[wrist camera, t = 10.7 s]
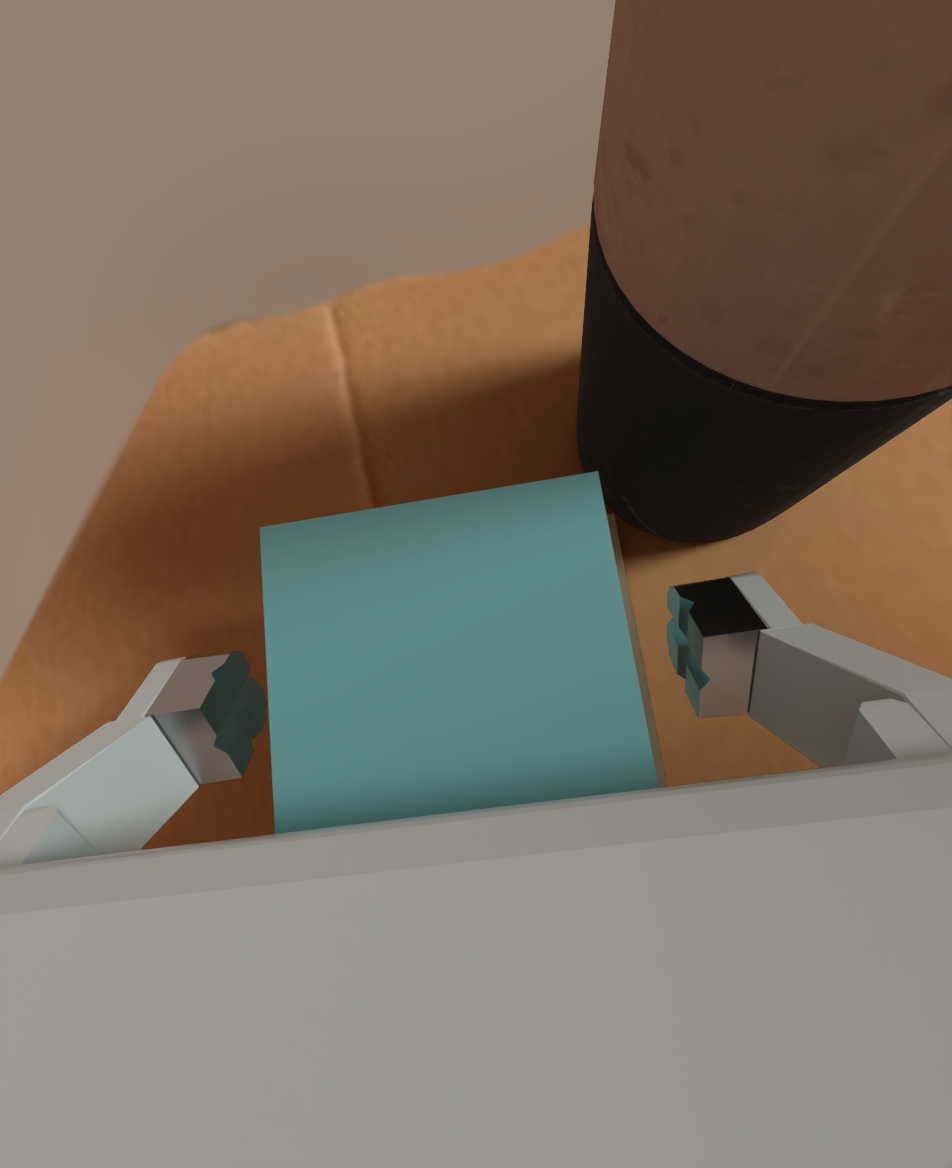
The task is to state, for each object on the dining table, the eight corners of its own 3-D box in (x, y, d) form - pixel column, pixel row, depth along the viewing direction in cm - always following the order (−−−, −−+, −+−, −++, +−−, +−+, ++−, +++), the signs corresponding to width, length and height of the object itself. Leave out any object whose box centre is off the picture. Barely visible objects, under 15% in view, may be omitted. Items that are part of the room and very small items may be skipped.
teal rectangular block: (571, 572, 16) (598, 470, 9) (607, 778, 15) (670, 850, 8) (379, 601, 17) (259, 526, 10) (399, 803, 16) (278, 894, 8)
